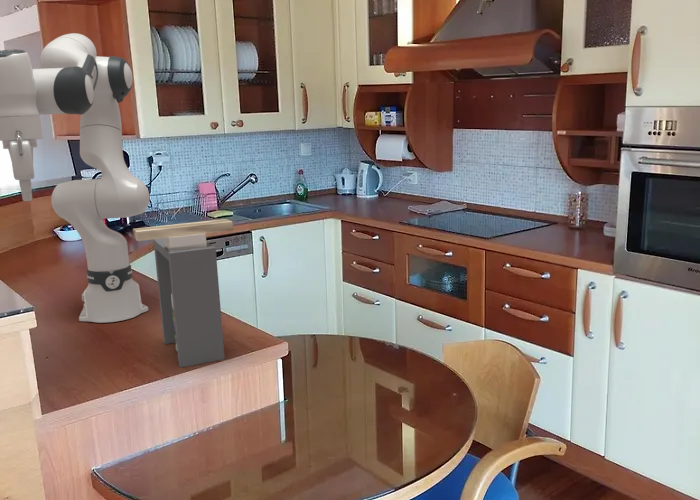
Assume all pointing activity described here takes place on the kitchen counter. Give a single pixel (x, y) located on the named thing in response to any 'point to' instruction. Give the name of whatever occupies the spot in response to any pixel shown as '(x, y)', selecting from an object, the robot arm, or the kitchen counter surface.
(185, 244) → the ceramic dish
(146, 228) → the slat
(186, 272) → the shelf
